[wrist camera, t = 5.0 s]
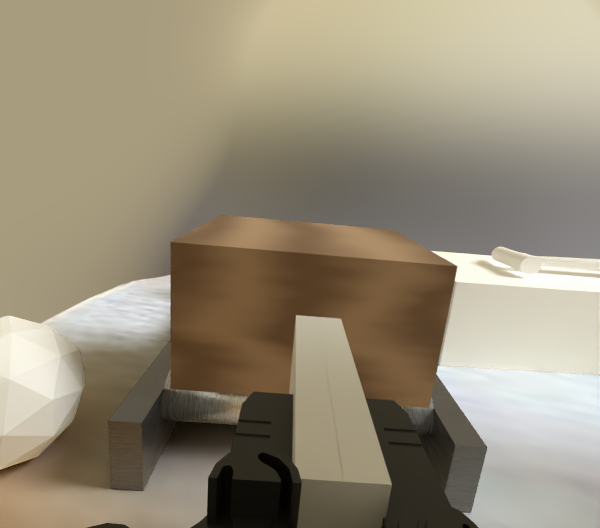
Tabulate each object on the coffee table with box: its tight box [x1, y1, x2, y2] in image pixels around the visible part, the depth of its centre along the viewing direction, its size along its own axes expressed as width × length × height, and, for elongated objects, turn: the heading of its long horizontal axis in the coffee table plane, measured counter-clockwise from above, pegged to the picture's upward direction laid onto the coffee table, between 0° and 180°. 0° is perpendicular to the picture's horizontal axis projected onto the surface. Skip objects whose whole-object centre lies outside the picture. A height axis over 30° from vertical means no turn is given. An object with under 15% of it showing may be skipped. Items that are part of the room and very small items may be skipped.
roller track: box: [108, 340, 487, 512], centre depth 31 cm, size 19×28×4 cm, turn 0°
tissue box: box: [432, 247, 600, 375], centre depth 40 cm, size 14×25×11 cm, turn 93°
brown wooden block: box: [171, 215, 458, 408], centre depth 24 cm, size 14×12×8 cm
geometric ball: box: [0, 316, 86, 470], centre depth 19 cm, size 8×8×8 cm
